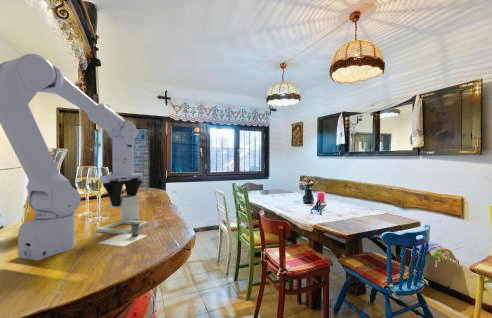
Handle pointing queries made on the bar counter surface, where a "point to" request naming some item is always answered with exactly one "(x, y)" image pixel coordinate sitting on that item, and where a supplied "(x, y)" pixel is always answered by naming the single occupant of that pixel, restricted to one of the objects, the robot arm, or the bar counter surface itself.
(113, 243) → the board
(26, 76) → the robot arm
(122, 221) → the tray
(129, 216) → the eye dropper bottle
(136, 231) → the stake
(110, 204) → the grey square block
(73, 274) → the bar counter surface
